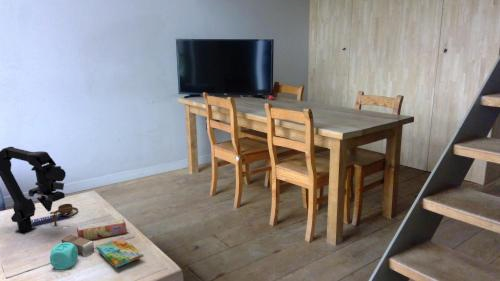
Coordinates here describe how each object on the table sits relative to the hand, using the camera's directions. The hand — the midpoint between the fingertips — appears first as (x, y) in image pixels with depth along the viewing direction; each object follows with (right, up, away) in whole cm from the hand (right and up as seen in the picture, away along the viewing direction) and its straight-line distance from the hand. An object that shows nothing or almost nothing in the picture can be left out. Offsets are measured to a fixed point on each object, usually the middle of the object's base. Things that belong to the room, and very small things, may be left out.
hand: (49, 211), depth 185 cm
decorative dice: (+18, -18, -22) cm, 34 cm away
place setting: (-6, -8, +23) cm, 25 cm away
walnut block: (+13, -12, -9) cm, 20 cm away
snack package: (+24, -12, +2) cm, 27 cm away
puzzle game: (+39, -17, -18) cm, 46 cm away
